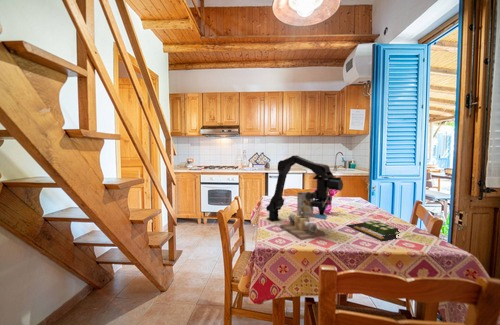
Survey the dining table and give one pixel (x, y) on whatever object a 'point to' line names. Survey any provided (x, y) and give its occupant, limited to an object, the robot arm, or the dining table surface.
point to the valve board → (301, 233)
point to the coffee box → (304, 203)
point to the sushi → (376, 230)
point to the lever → (314, 215)
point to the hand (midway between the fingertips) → (321, 216)
